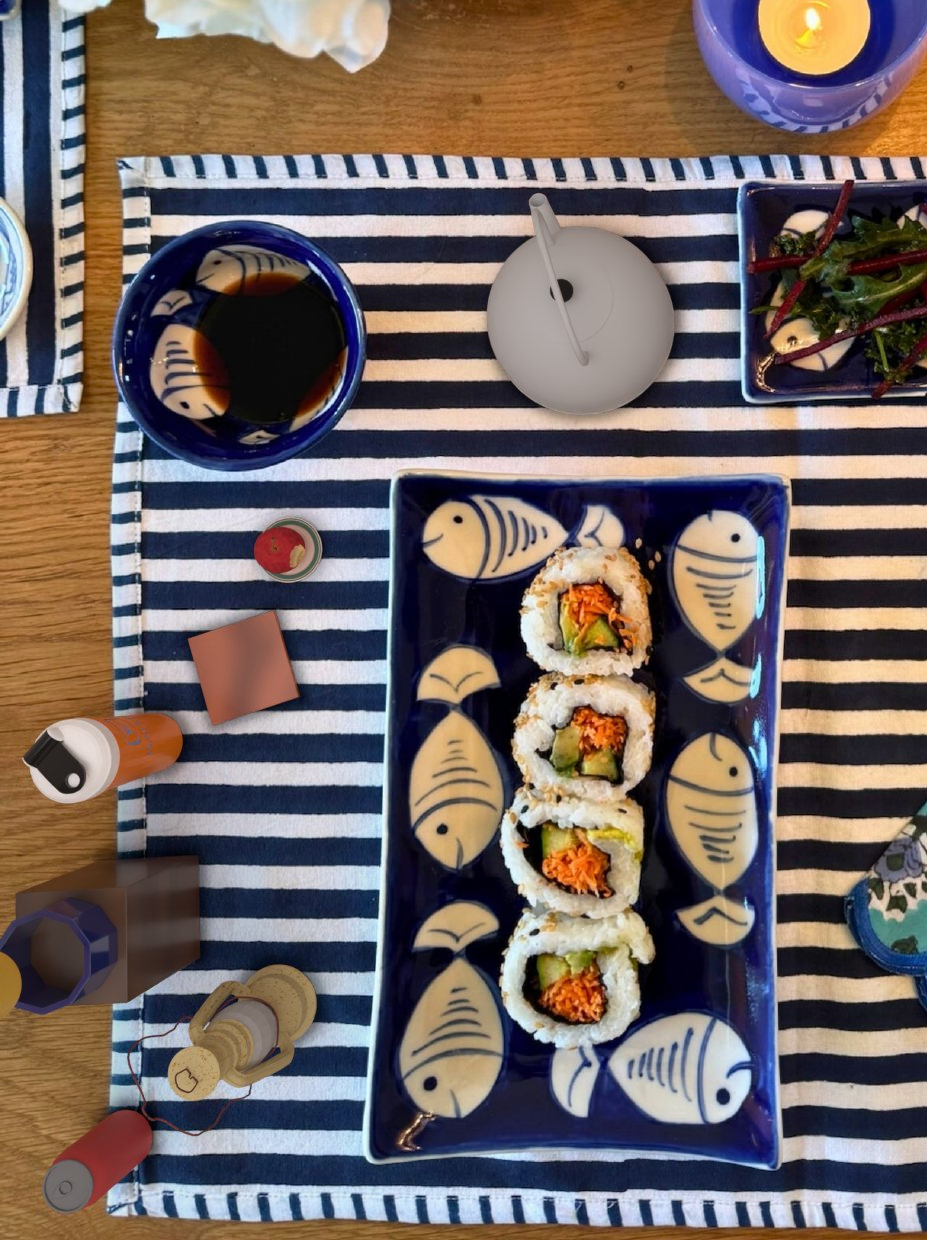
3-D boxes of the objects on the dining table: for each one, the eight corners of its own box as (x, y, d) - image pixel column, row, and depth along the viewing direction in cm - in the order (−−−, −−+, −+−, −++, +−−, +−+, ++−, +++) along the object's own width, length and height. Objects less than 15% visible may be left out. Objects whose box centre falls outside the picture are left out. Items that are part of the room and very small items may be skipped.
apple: (313, 509, 143) (292, 504, 137) (331, 571, 143) (310, 569, 136) (251, 529, 143) (227, 525, 137) (268, 591, 143) (245, 590, 136)
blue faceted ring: (24, 1001, 123) (-7, 1018, 118) (24, 900, 124) (-7, 912, 119) (118, 996, 123) (90, 1012, 118) (117, 894, 124) (90, 907, 119)
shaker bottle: (164, 793, 141) (65, 824, 121) (103, 754, 141) (-5, 778, 121) (205, 730, 141) (113, 750, 121) (145, 691, 142) (44, 705, 122)
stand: (101, 963, 139) (15, 1009, 123) (100, 860, 140) (14, 893, 124) (200, 957, 139) (127, 1003, 123) (199, 854, 140) (126, 886, 124)
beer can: (89, 1129, 137) (25, 1179, 125) (136, 1095, 137) (76, 1142, 126) (118, 1177, 137) (57, 1232, 125) (165, 1143, 137) (108, 1195, 125)
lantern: (212, 996, 138) (60, 1104, 108) (274, 938, 139) (140, 1029, 109) (278, 1073, 137) (143, 1203, 108) (340, 1014, 138) (223, 1128, 108)
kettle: (466, 250, 146) (412, 185, 124) (638, 196, 146) (615, 122, 124) (522, 438, 144) (477, 407, 121) (697, 383, 144) (685, 342, 121)
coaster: (214, 725, 141) (211, 725, 141) (189, 638, 142) (187, 638, 142) (300, 696, 141) (298, 697, 141) (275, 610, 142) (273, 610, 142)
